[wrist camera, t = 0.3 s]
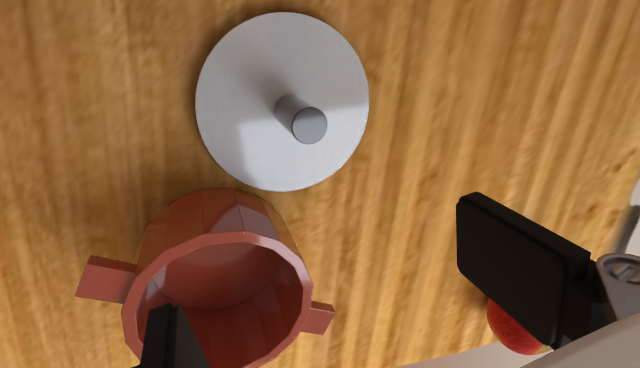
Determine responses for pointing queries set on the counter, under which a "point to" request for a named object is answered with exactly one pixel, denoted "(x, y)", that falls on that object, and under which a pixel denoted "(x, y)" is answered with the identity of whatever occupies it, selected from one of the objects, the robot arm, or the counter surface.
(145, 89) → the counter surface
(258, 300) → the saucepan
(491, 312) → the apple
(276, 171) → the pan lid
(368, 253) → the counter surface
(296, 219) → the counter surface
